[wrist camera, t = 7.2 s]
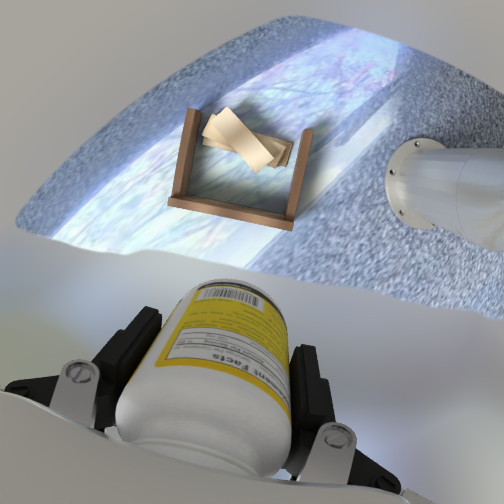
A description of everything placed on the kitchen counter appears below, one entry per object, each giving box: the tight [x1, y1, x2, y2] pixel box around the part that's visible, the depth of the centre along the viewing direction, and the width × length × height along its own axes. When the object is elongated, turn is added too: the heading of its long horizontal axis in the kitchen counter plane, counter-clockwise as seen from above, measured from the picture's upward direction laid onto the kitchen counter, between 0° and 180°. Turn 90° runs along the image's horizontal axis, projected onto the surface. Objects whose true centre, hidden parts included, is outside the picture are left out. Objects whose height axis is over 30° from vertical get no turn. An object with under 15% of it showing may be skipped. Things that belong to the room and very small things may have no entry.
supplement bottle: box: [115, 279, 292, 478], centre depth 10 cm, size 5×5×10 cm
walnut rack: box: [167, 108, 313, 231], centre depth 36 cm, size 15×12×4 cm
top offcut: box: [210, 107, 274, 173], centre depth 35 cm, size 8×3×1 cm, turn 41°
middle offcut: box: [202, 114, 286, 168], centre depth 36 cm, size 10×3×1 cm, turn 64°
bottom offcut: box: [202, 133, 293, 167], centre depth 37 cm, size 11×3×1 cm, turn 74°
